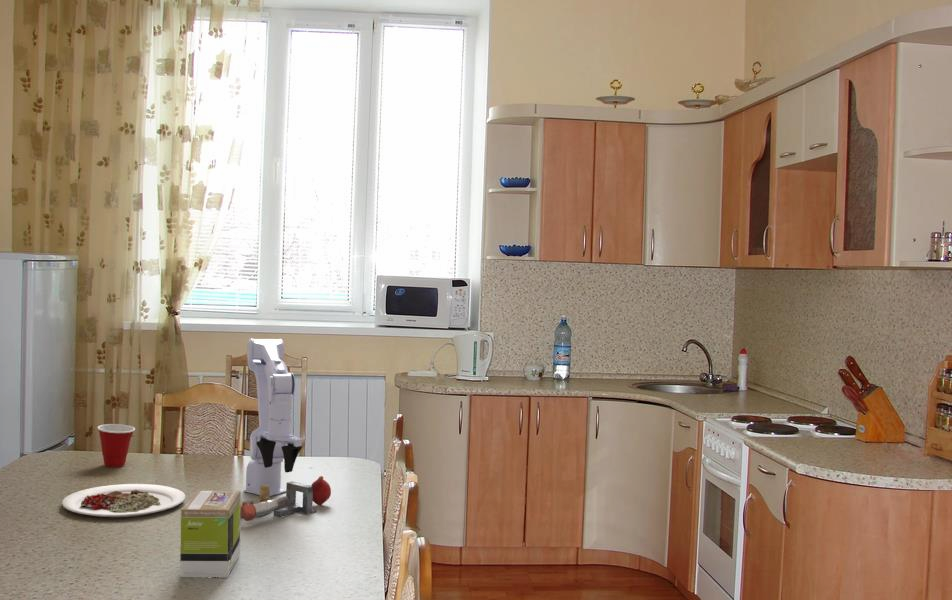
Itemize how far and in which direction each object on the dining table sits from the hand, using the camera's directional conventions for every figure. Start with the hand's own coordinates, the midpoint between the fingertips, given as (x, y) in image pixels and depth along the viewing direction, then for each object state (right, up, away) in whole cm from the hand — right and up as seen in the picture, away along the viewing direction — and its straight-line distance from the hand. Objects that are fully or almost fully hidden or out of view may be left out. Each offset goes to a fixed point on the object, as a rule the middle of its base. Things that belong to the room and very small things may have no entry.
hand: (278, 469), depth 242 cm
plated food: (-39, -9, -4) cm, 40 cm away
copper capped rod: (0, -9, -12) cm, 16 cm away
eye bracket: (+4, -10, -5) cm, 12 cm away
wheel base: (-7, -10, -6) cm, 13 cm away
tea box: (-4, -12, -47) cm, 49 cm away
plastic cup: (-58, -6, +37) cm, 69 cm away
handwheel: (-7, -10, -6) cm, 13 cm away
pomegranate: (+10, -11, +3) cm, 15 cm away
